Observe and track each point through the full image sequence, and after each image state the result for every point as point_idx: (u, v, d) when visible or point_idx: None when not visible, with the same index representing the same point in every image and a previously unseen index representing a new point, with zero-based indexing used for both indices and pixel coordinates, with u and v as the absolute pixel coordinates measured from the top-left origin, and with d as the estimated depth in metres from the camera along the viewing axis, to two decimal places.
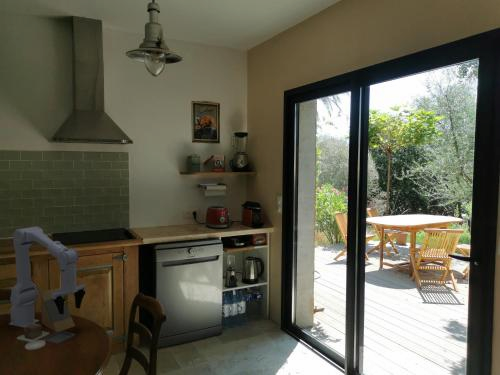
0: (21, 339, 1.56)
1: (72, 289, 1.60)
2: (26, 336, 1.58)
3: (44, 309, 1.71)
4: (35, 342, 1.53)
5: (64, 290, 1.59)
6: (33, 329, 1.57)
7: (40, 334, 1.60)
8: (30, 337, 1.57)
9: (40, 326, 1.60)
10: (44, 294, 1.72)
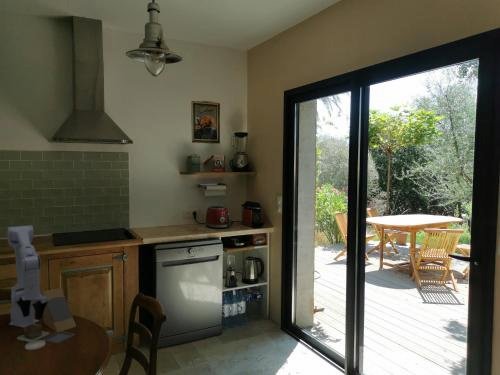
0: (21, 339, 1.56)
1: (25, 296, 1.56)
2: (26, 336, 1.58)
3: (46, 309, 1.71)
4: (35, 342, 1.53)
5: None
6: (33, 329, 1.57)
7: (40, 334, 1.60)
8: (30, 337, 1.57)
9: (40, 326, 1.60)
10: (46, 294, 1.73)
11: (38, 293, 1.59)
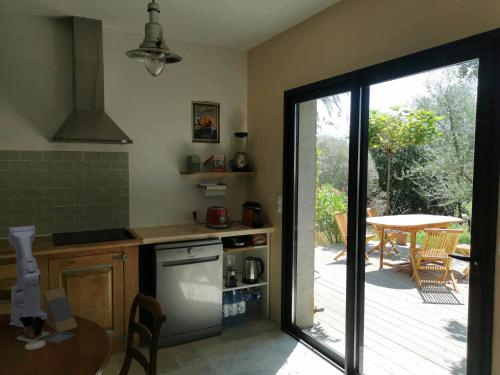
0: (21, 339, 1.56)
1: (25, 313, 1.57)
2: (26, 336, 1.58)
3: (47, 309, 1.71)
4: (35, 342, 1.53)
5: None
6: (33, 329, 1.57)
7: (40, 334, 1.60)
8: (30, 337, 1.57)
9: None
10: (47, 294, 1.73)
11: (39, 309, 1.59)
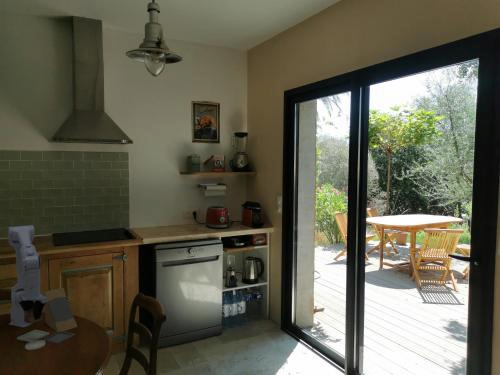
0: (21, 339, 1.56)
1: (25, 296, 1.54)
2: (26, 320, 1.56)
3: (47, 309, 1.71)
4: (35, 342, 1.53)
5: None
6: (33, 313, 1.55)
7: (40, 318, 1.58)
8: (30, 321, 1.55)
9: None
10: (47, 294, 1.73)
11: (38, 293, 1.57)
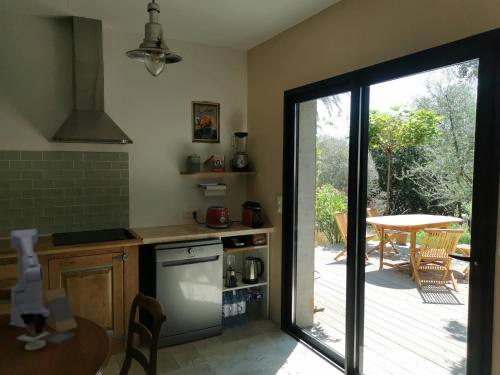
0: (21, 339, 1.56)
1: (26, 309, 1.48)
2: (27, 334, 1.50)
3: (48, 309, 1.71)
4: (35, 342, 1.53)
5: None
6: (35, 327, 1.49)
7: (42, 332, 1.52)
8: (31, 335, 1.49)
9: None
10: (48, 294, 1.73)
11: (40, 306, 1.51)
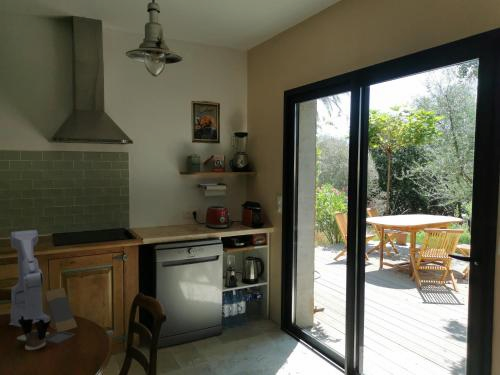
0: (21, 339, 1.56)
1: (26, 315, 1.48)
2: (27, 344, 1.50)
3: (48, 309, 1.71)
4: None
5: None
6: (35, 336, 1.49)
7: (42, 341, 1.52)
8: (32, 345, 1.49)
9: None
10: (48, 294, 1.73)
11: (41, 312, 1.51)
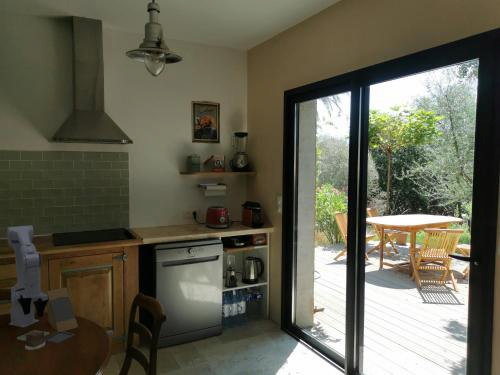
0: (21, 339, 1.56)
1: (25, 294, 1.56)
2: (27, 344, 1.50)
3: (50, 308, 1.71)
4: None
5: None
6: (35, 336, 1.49)
7: (42, 341, 1.52)
8: (32, 345, 1.49)
9: (42, 333, 1.52)
10: (50, 294, 1.73)
11: (39, 291, 1.58)
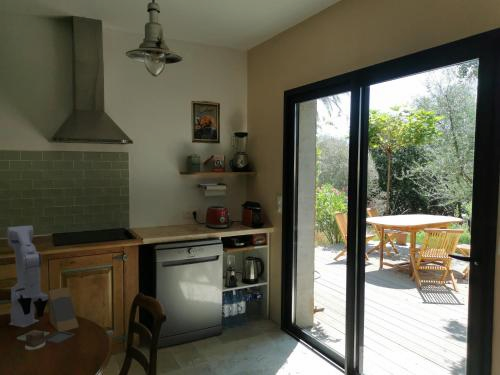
0: (21, 339, 1.56)
1: (25, 294, 1.56)
2: (27, 344, 1.50)
3: (51, 308, 1.72)
4: None
5: None
6: (35, 336, 1.49)
7: (42, 341, 1.52)
8: (32, 345, 1.49)
9: (42, 333, 1.52)
10: (52, 293, 1.74)
11: (39, 291, 1.58)
